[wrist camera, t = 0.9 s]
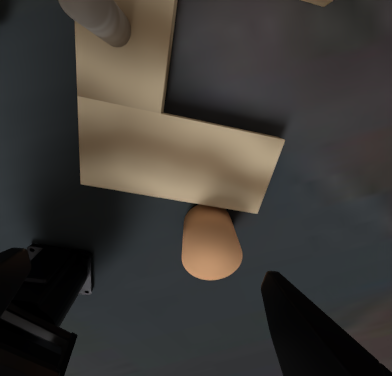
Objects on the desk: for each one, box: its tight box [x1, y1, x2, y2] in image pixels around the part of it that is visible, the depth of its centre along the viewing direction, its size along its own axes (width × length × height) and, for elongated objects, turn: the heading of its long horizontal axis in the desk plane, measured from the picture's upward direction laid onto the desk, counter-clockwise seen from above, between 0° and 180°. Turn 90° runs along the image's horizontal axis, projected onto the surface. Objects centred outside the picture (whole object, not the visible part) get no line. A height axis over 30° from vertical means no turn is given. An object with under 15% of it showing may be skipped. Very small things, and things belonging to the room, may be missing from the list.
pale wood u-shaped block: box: [58, 0, 333, 214], centre depth 13 cm, size 18×16×6 cm
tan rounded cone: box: [182, 204, 242, 280], centre depth 18 cm, size 5×5×5 cm
